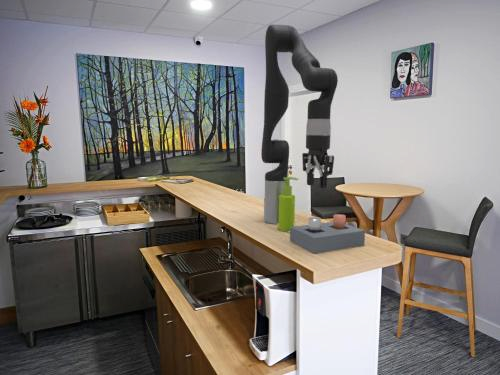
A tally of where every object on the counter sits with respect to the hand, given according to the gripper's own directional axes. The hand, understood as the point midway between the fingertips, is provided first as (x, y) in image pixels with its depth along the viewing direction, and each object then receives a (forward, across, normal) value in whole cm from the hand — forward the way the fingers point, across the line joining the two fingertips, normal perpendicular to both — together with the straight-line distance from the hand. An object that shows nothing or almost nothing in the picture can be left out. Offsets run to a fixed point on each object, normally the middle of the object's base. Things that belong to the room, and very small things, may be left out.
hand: (316, 186), depth 119 cm
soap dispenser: (+20, -20, +2) cm, 28 cm away
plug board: (+20, 0, +5) cm, 20 cm away
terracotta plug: (+16, 0, +10) cm, 18 cm away
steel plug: (+16, 0, 0) cm, 16 cm away
